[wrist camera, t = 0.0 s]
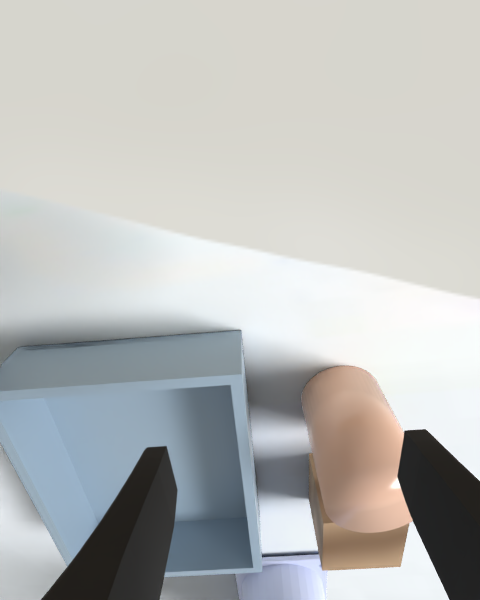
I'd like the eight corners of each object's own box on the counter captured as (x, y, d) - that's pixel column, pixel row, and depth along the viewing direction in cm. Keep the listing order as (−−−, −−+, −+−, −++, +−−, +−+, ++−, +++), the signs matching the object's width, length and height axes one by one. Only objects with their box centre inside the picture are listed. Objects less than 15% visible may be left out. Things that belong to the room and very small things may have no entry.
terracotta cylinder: (376, 423, 24) (424, 529, 18) (301, 428, 24) (323, 535, 18) (383, 362, 22) (441, 460, 16) (300, 368, 22) (325, 467, 16)
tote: (259, 515, 28) (262, 572, 25) (95, 524, 29) (75, 581, 25) (241, 330, 21) (241, 374, 17) (18, 347, 21) (-27, 393, 18)
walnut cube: (374, 494, 28) (400, 566, 23) (308, 497, 28) (322, 570, 23) (379, 448, 25) (410, 518, 21) (308, 452, 25) (323, 523, 21)
